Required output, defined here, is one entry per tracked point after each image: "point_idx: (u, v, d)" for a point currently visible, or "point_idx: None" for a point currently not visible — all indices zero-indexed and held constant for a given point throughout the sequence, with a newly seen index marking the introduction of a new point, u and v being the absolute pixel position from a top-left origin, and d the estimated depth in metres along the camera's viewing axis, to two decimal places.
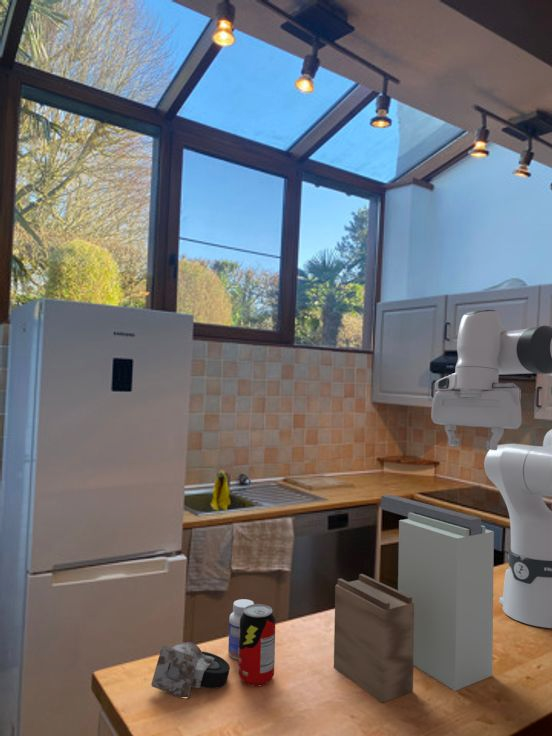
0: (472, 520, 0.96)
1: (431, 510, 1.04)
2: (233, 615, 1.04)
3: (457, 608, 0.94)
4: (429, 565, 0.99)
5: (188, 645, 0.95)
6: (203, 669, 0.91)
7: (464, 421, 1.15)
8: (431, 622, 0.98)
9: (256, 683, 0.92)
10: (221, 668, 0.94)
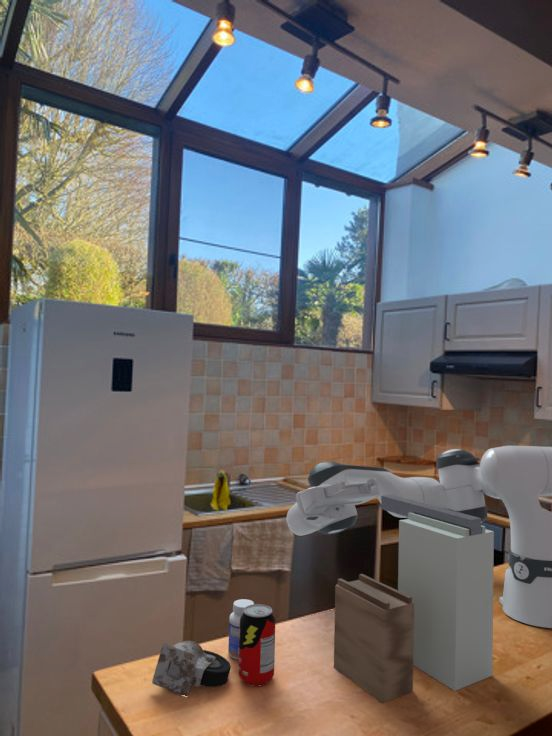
0: (472, 520, 0.96)
1: (431, 510, 1.04)
2: (233, 615, 1.04)
3: (457, 608, 0.94)
4: (429, 565, 0.99)
5: (189, 643, 0.95)
6: (203, 668, 0.91)
7: None
8: (431, 622, 0.98)
9: (256, 683, 0.92)
10: (222, 667, 0.94)
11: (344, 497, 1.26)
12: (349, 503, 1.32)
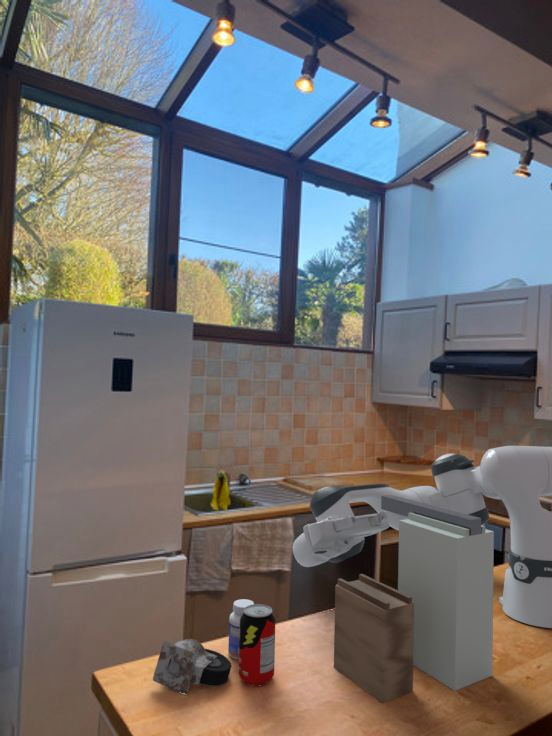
0: (472, 520, 0.96)
1: (431, 510, 1.04)
2: (233, 615, 1.04)
3: (457, 608, 0.94)
4: (429, 565, 0.99)
5: (190, 642, 0.96)
6: (203, 666, 0.92)
7: None
8: (431, 622, 0.98)
9: (256, 683, 0.92)
10: (222, 666, 0.94)
11: (354, 531, 1.22)
12: (358, 535, 1.28)
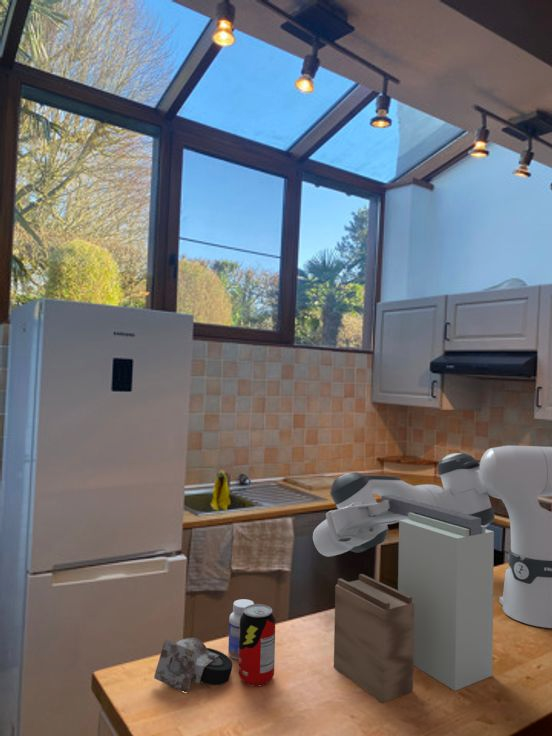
0: (472, 520, 0.96)
1: (431, 510, 1.04)
2: (233, 615, 1.04)
3: (457, 608, 0.94)
4: (429, 565, 0.99)
5: (192, 641, 0.96)
6: (203, 665, 0.92)
7: (375, 503, 1.18)
8: (431, 622, 0.98)
9: (256, 683, 0.92)
10: (223, 666, 0.94)
11: (380, 517, 1.15)
12: (383, 523, 1.22)
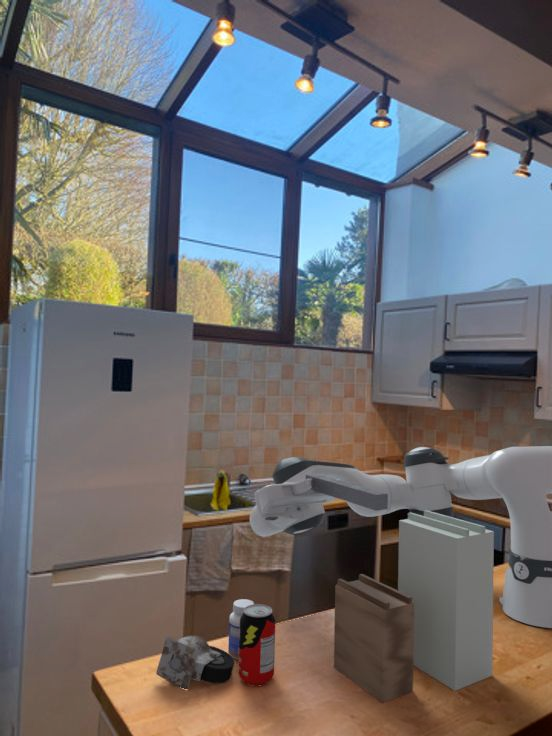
0: (377, 495, 0.98)
1: (345, 487, 1.05)
2: (233, 615, 1.04)
3: (457, 608, 0.94)
4: (429, 565, 0.99)
5: (194, 638, 0.97)
6: (204, 663, 0.93)
7: None
8: (431, 622, 0.98)
9: (256, 683, 0.92)
10: (224, 664, 0.95)
11: (304, 496, 1.17)
12: (312, 502, 1.24)
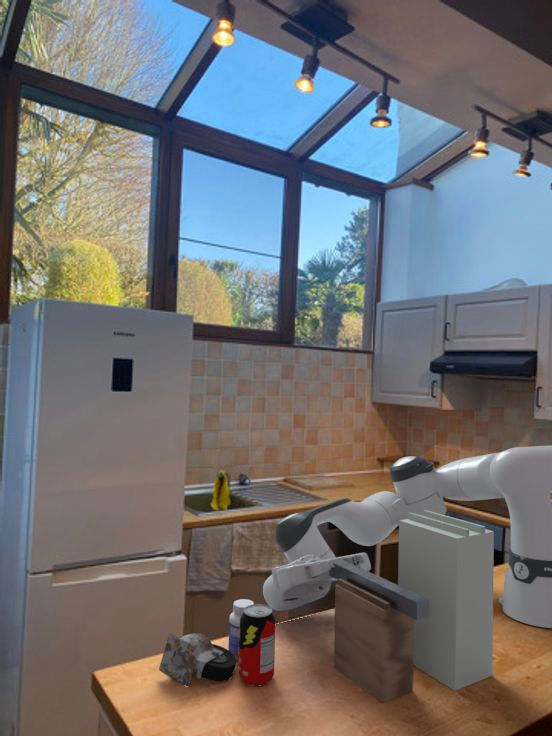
0: (418, 602, 0.86)
1: (377, 585, 0.94)
2: (233, 615, 1.04)
3: (457, 608, 0.94)
4: (429, 565, 0.99)
5: (197, 636, 0.98)
6: (205, 661, 0.93)
7: (324, 559, 1.08)
8: (431, 622, 0.98)
9: (256, 683, 0.92)
10: (226, 663, 0.95)
11: (328, 576, 1.05)
12: (335, 579, 1.12)
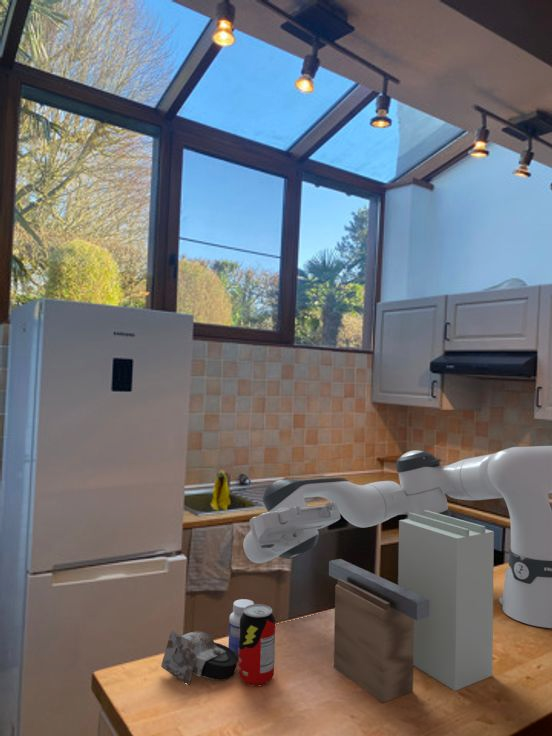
0: (418, 602, 0.86)
1: (377, 585, 0.94)
2: (233, 615, 1.04)
3: (457, 608, 0.94)
4: (429, 565, 0.99)
5: (199, 634, 0.99)
6: (205, 659, 0.94)
7: None
8: (431, 622, 0.98)
9: (256, 683, 0.92)
10: (227, 662, 0.96)
11: (301, 523, 1.16)
12: (308, 528, 1.22)
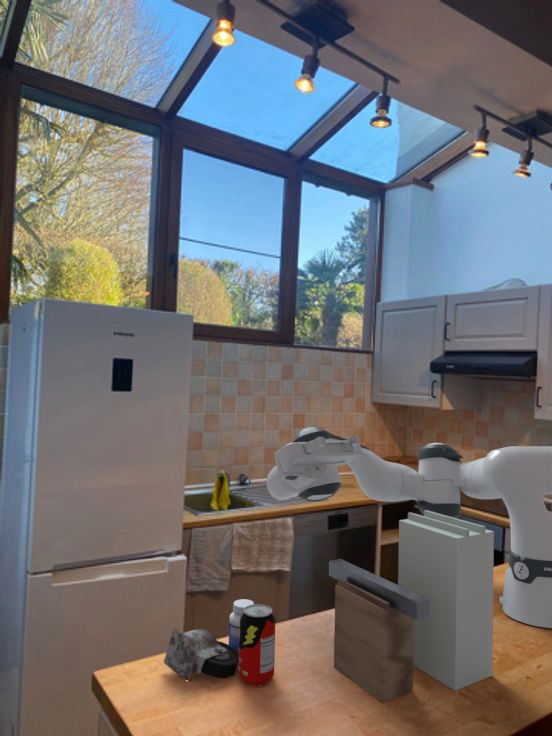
0: (418, 602, 0.86)
1: (377, 585, 0.94)
2: (233, 615, 1.04)
3: (457, 608, 0.94)
4: (429, 565, 0.99)
5: (202, 632, 1.00)
6: (205, 657, 0.95)
7: None
8: (431, 622, 0.98)
9: (256, 683, 0.92)
10: (227, 661, 0.96)
11: (324, 454, 1.20)
12: (330, 463, 1.26)
